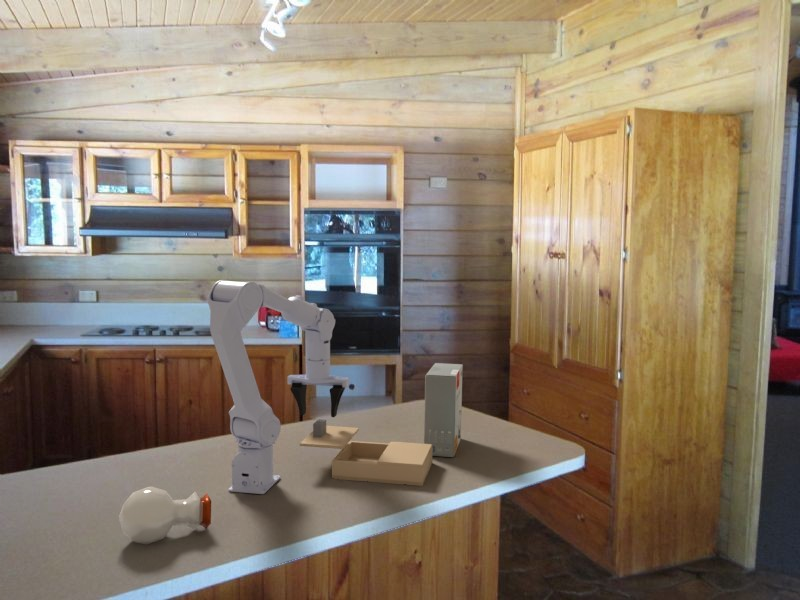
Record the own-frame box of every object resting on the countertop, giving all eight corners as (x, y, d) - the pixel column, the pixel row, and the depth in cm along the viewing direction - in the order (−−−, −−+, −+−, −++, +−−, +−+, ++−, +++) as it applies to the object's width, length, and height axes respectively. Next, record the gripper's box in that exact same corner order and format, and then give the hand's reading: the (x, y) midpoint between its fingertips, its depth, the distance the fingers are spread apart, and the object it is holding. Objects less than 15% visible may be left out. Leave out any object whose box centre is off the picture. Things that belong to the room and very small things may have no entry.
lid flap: (342, 449, 143) (342, 432, 143) (299, 445, 145) (299, 430, 145) (358, 430, 156) (358, 415, 156) (319, 427, 158) (319, 413, 158)
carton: (422, 486, 140) (422, 465, 140) (332, 478, 144) (331, 458, 144) (432, 463, 154) (432, 443, 153) (349, 456, 158) (349, 438, 157)
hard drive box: (454, 458, 157) (455, 376, 155) (423, 456, 158) (423, 374, 156) (461, 438, 172) (462, 363, 170) (432, 436, 174) (433, 361, 171)
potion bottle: (114, 551, 114) (202, 542, 121) (121, 538, 107) (215, 530, 114) (115, 498, 119) (200, 492, 126) (122, 482, 111) (212, 477, 118)
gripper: (352, 356, 157) (352, 412, 158) (294, 354, 160) (295, 408, 161) (344, 362, 150) (344, 420, 152) (283, 359, 153) (284, 416, 154)
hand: (318, 415), depth 156 cm, fingers open, 7 cm apart
